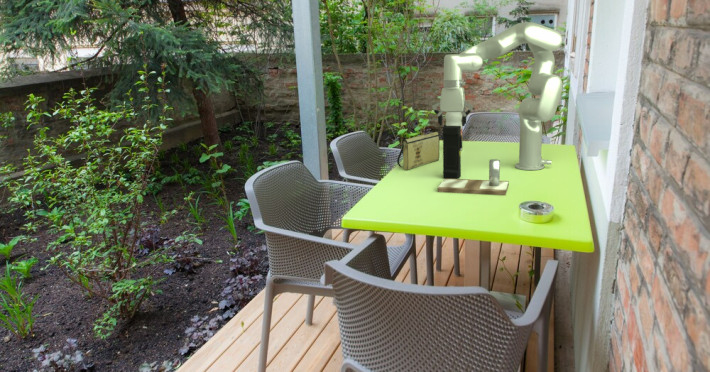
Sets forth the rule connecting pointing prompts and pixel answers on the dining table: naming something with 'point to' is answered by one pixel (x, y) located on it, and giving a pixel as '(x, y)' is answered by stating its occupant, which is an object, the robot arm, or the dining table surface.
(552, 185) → the dining table surface
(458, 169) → the portable radio
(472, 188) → the board
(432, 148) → the clutch purse
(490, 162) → the pin
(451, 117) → the fruit juice
